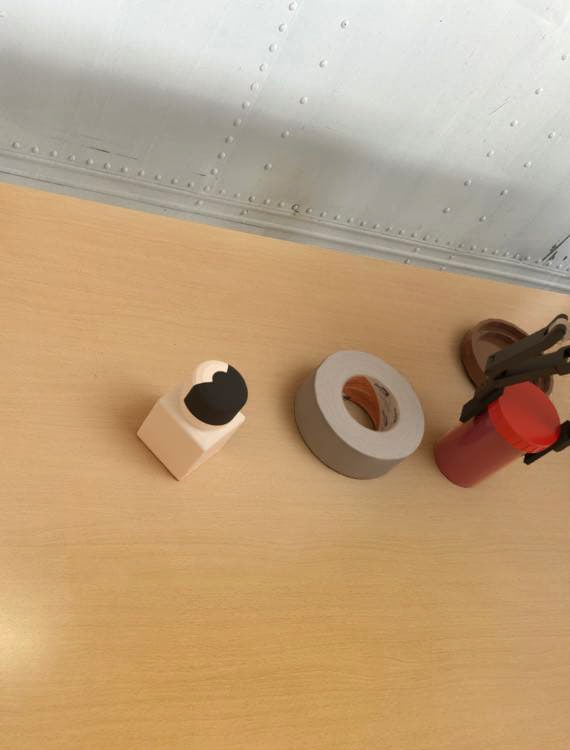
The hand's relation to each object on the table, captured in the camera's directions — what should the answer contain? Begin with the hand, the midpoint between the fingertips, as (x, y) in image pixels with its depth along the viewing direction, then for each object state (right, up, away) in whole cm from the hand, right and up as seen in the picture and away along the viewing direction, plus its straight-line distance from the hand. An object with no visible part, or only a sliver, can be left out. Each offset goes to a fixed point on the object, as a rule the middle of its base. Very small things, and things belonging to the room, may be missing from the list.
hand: (495, 435), depth 96 cm
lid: (+2, +2, -4) cm, 5 cm away
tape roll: (-18, +1, +1) cm, 18 cm away
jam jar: (-2, -3, +6) cm, 7 cm away
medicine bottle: (-39, -2, -10) cm, 41 cm away
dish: (+8, +11, +16) cm, 21 cm away
